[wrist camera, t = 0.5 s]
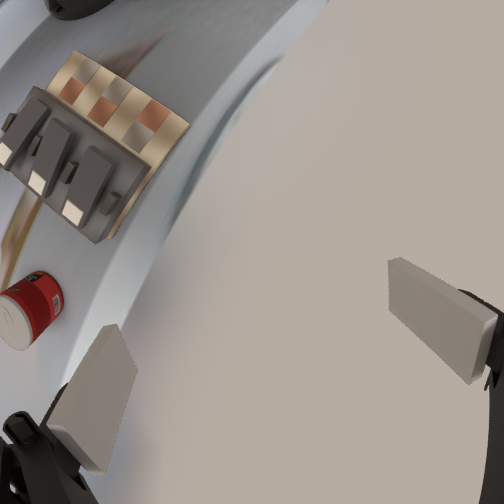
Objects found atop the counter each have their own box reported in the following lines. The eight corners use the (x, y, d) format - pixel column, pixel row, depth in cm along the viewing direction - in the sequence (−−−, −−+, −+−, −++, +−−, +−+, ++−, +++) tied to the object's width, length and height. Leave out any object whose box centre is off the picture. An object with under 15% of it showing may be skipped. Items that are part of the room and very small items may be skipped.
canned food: (43, 260, 37) (3, 286, 26) (73, 302, 39) (40, 337, 28) (20, 285, 37) (-18, 313, 26) (48, 324, 39) (16, 358, 29)
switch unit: (78, 52, 29) (56, 35, 22) (190, 125, 34) (183, 114, 28) (14, 155, 32) (-15, 155, 25) (112, 237, 37) (92, 251, 30)
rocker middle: (57, 117, 25) (49, 118, 24) (76, 132, 26) (69, 133, 25) (32, 181, 28) (25, 184, 27) (49, 196, 29) (42, 199, 28)
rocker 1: (35, 99, 26) (31, 95, 24) (50, 111, 27) (47, 107, 25) (-5, 158, 25) (-10, 155, 24) (9, 171, 26) (4, 169, 24)
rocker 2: (93, 145, 27) (86, 146, 25) (117, 162, 28) (111, 165, 26) (64, 209, 30) (58, 213, 29) (85, 226, 31) (79, 230, 30)
